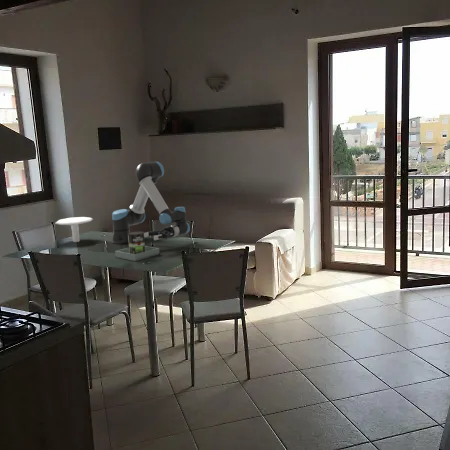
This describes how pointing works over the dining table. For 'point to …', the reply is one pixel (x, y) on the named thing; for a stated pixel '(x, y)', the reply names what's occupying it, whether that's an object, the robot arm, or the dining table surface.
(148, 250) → the tray
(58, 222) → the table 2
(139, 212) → the robot arm
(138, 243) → the coffee can
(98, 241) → the dining table surface
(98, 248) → the dining table surface
